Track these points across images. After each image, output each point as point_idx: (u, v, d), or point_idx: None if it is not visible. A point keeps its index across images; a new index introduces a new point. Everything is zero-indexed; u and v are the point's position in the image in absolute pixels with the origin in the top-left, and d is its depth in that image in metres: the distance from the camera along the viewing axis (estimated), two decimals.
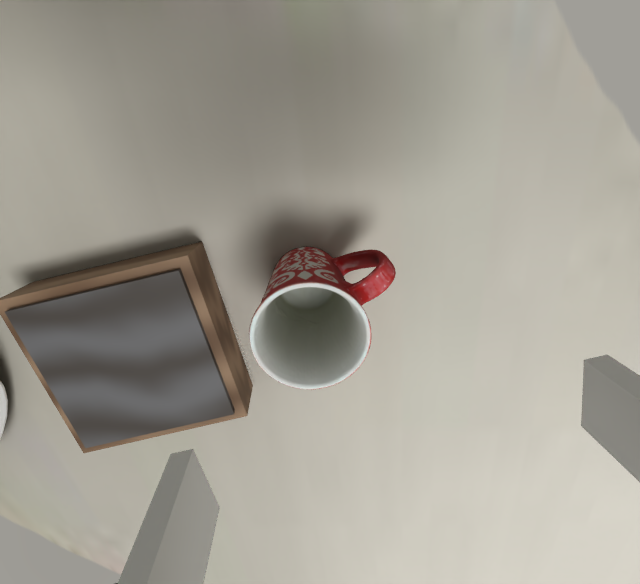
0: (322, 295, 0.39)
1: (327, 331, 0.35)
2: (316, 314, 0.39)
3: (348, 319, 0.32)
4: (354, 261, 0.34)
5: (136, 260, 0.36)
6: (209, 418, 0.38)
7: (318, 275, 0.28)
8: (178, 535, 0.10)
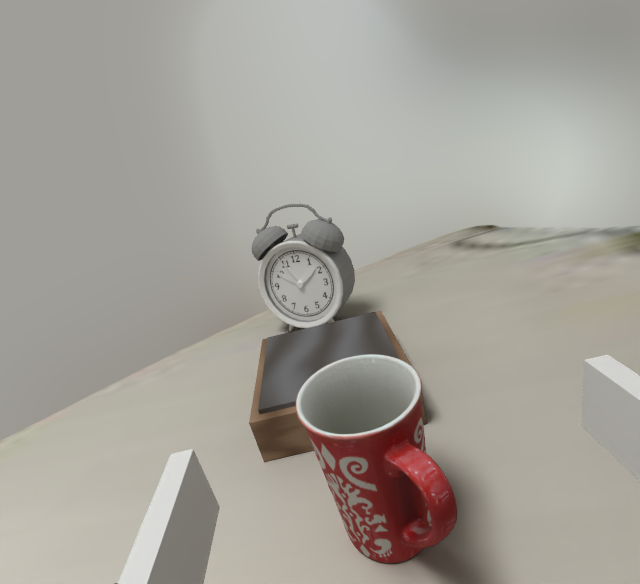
0: None
1: None
2: None
3: None
4: (428, 528, 0.25)
5: None
6: (261, 394, 0.41)
7: (421, 420, 0.26)
8: (178, 535, 0.10)
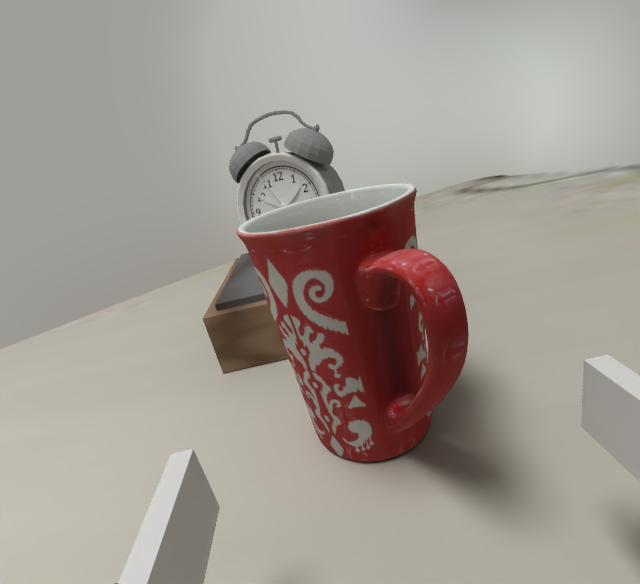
0: None
1: None
2: None
3: None
4: None
5: None
6: (222, 293, 0.33)
7: (416, 243, 0.18)
8: (178, 535, 0.10)
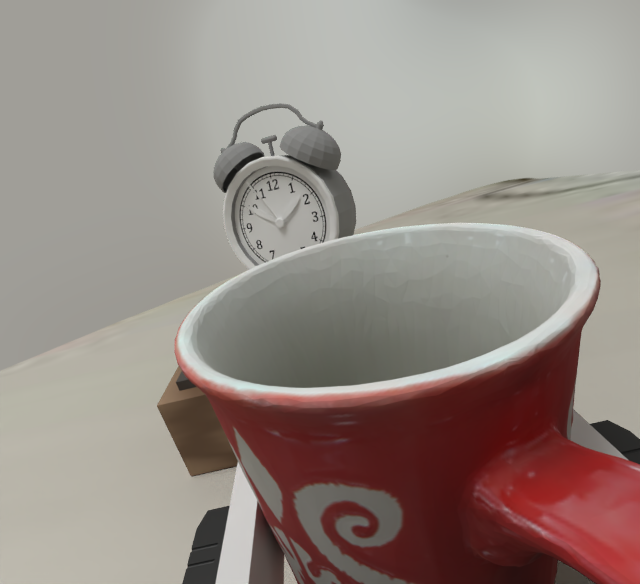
0: None
1: None
2: None
3: None
4: None
5: None
6: None
7: None
8: None
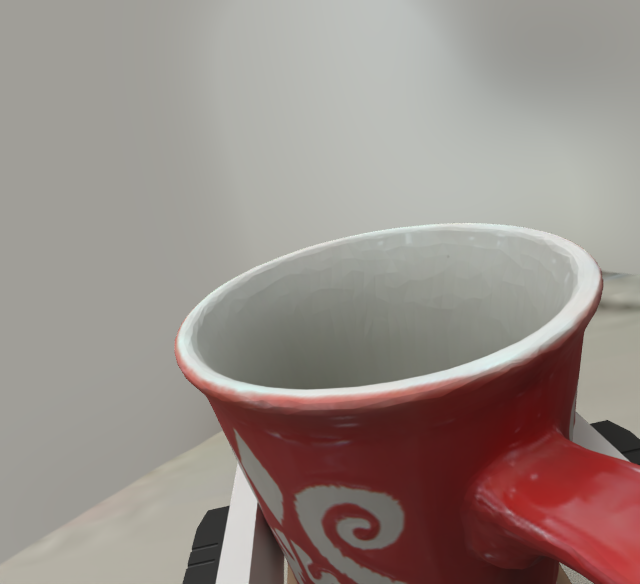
0: None
1: None
2: None
3: None
4: None
5: None
6: None
7: None
8: None
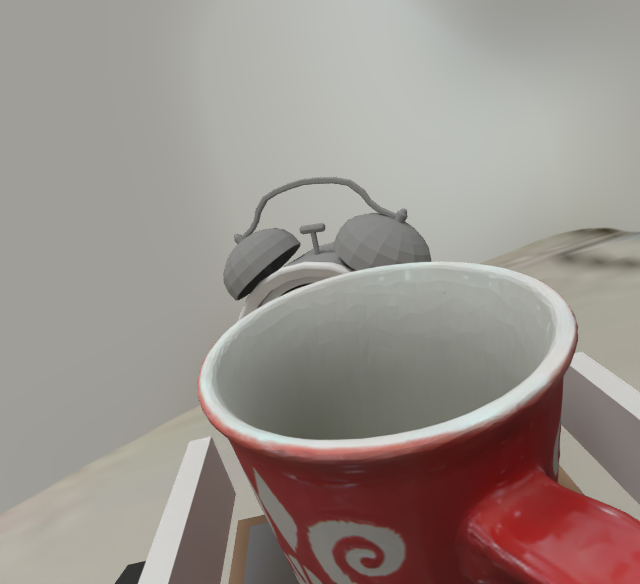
0: None
1: None
2: None
3: None
4: None
5: None
6: None
7: None
8: (200, 517, 0.10)
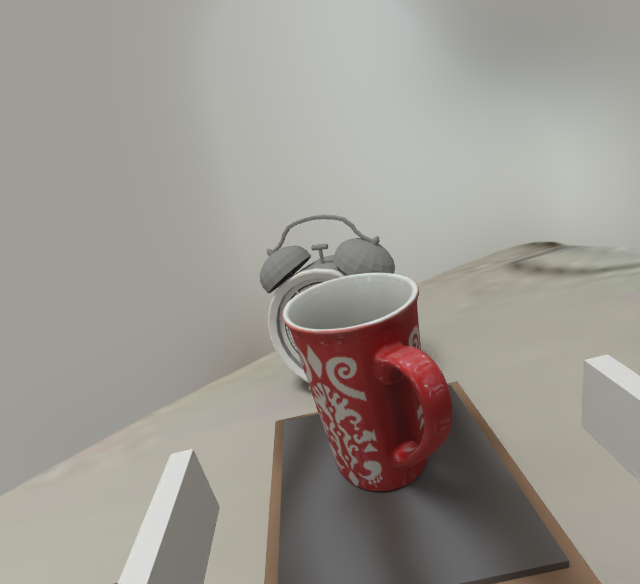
0: None
1: None
2: None
3: None
4: None
5: None
6: (280, 571, 0.22)
7: (418, 329, 0.24)
8: (178, 535, 0.10)
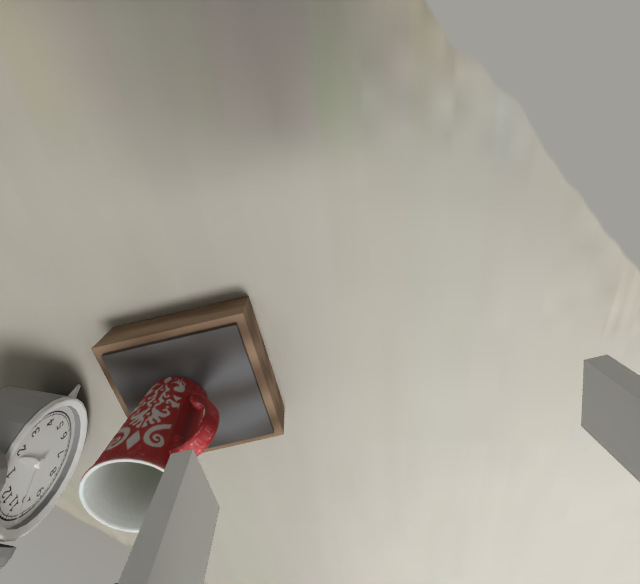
0: None
1: None
2: None
3: None
4: (201, 403, 0.39)
5: (198, 312, 0.46)
6: (254, 436, 0.48)
7: (145, 439, 0.34)
8: (178, 535, 0.10)
